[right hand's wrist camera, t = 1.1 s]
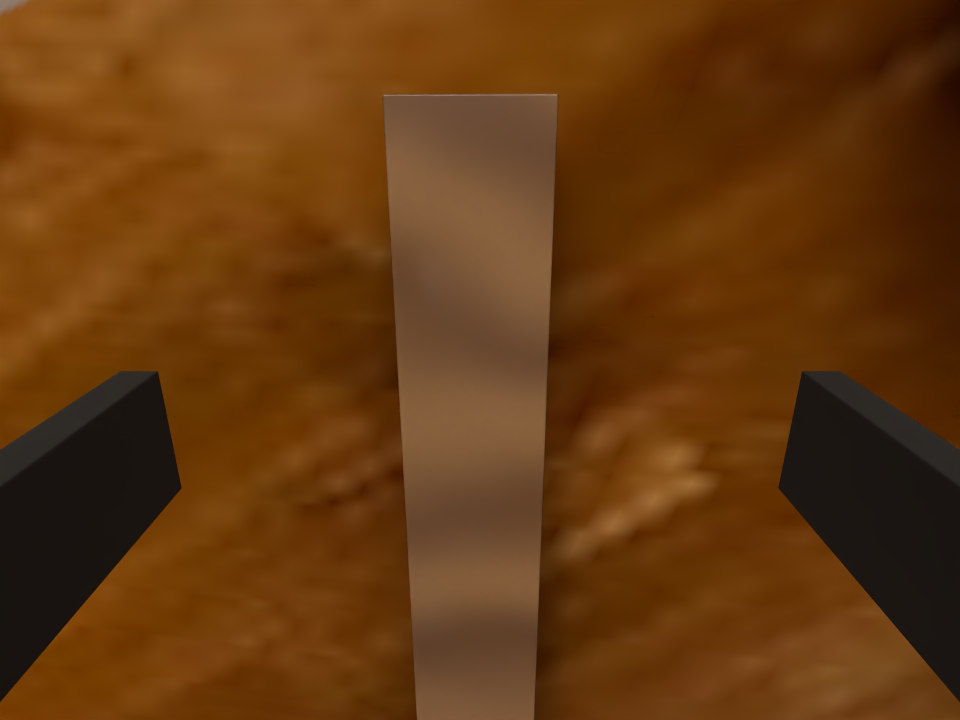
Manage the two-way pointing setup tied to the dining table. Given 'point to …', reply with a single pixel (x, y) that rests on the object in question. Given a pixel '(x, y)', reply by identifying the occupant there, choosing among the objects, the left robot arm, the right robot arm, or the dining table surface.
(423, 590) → the bar
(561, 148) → the dining table surface
